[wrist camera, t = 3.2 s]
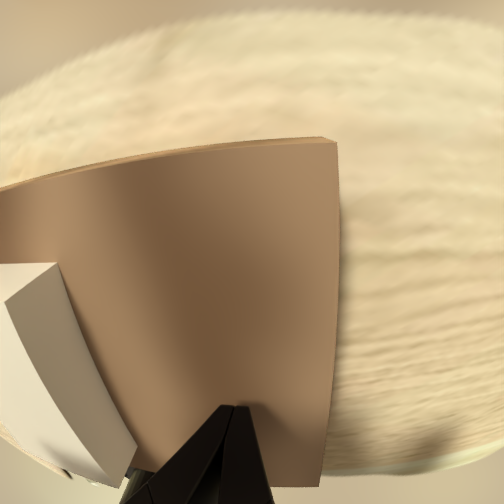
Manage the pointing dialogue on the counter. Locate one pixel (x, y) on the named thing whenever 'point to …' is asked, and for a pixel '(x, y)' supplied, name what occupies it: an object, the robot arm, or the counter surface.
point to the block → (200, 287)
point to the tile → (55, 380)
